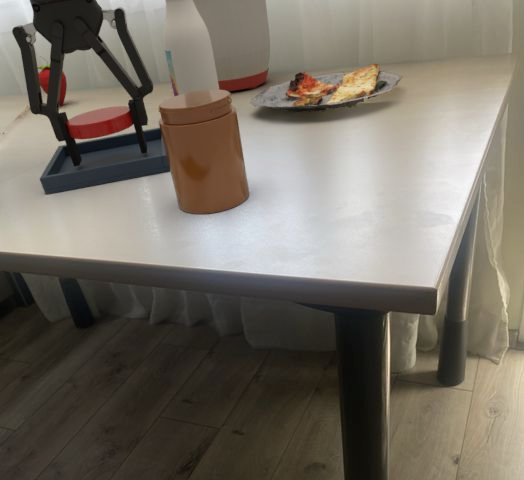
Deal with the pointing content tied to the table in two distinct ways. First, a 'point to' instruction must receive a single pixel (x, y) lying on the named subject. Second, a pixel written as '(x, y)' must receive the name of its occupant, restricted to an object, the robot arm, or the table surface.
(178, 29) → the milk bottle
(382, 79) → the food plate
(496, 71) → the table surface
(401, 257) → the table surface
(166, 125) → the jar
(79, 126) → the lid
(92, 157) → the tray
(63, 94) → the strawberry
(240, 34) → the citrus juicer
